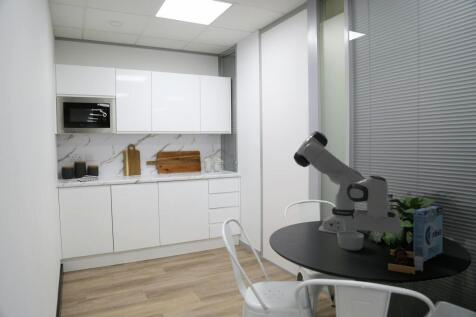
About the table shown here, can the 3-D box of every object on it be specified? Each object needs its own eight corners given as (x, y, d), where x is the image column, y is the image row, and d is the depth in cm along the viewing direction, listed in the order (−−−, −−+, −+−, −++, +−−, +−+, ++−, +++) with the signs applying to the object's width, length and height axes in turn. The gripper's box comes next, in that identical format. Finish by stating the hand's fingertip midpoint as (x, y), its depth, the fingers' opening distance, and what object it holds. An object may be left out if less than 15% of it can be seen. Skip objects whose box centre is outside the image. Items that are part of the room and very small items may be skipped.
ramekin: (366, 252, 161) (366, 238, 161) (338, 250, 164) (338, 237, 163) (361, 244, 174) (361, 231, 174) (335, 243, 176) (336, 230, 176)
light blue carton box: (423, 262, 147) (424, 212, 146) (412, 259, 151) (413, 210, 150) (442, 253, 158) (443, 207, 157) (431, 251, 162) (432, 205, 161)
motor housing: (388, 270, 138) (388, 254, 137) (390, 254, 157) (390, 240, 157) (423, 275, 132) (423, 259, 132) (421, 258, 151) (421, 244, 151)
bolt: (400, 273, 139) (398, 260, 153) (412, 268, 137) (409, 256, 151) (393, 260, 140) (391, 249, 154) (404, 256, 138) (402, 245, 152)
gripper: (352, 210, 151) (352, 240, 152) (401, 214, 142) (401, 245, 143) (354, 208, 157) (354, 236, 157) (401, 211, 148) (401, 241, 148)
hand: (377, 240), depth 150 cm, fingers closed
